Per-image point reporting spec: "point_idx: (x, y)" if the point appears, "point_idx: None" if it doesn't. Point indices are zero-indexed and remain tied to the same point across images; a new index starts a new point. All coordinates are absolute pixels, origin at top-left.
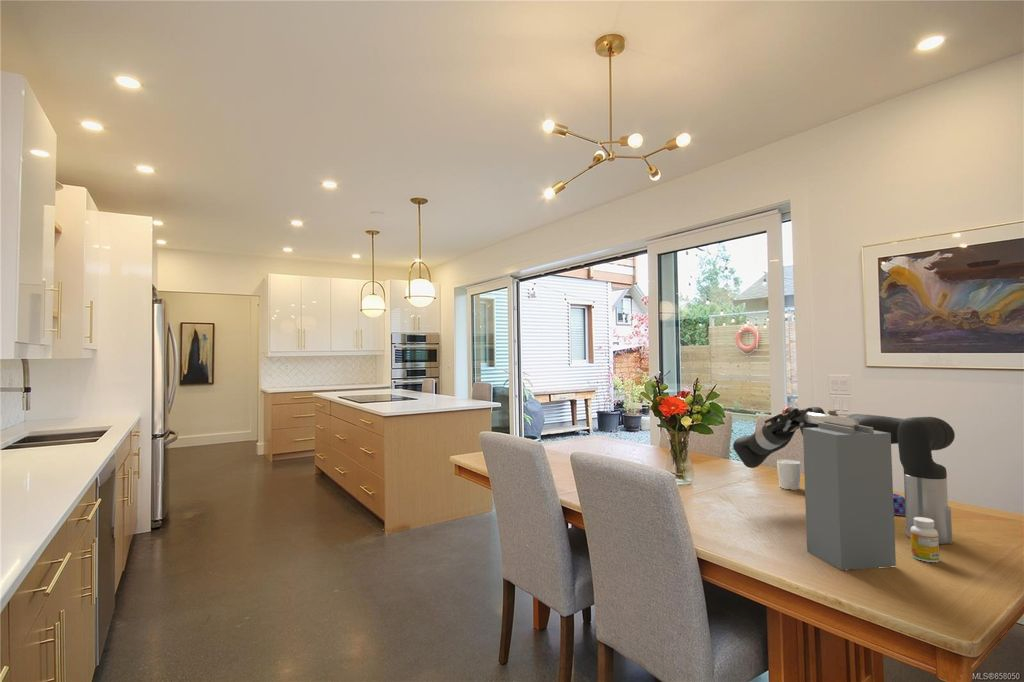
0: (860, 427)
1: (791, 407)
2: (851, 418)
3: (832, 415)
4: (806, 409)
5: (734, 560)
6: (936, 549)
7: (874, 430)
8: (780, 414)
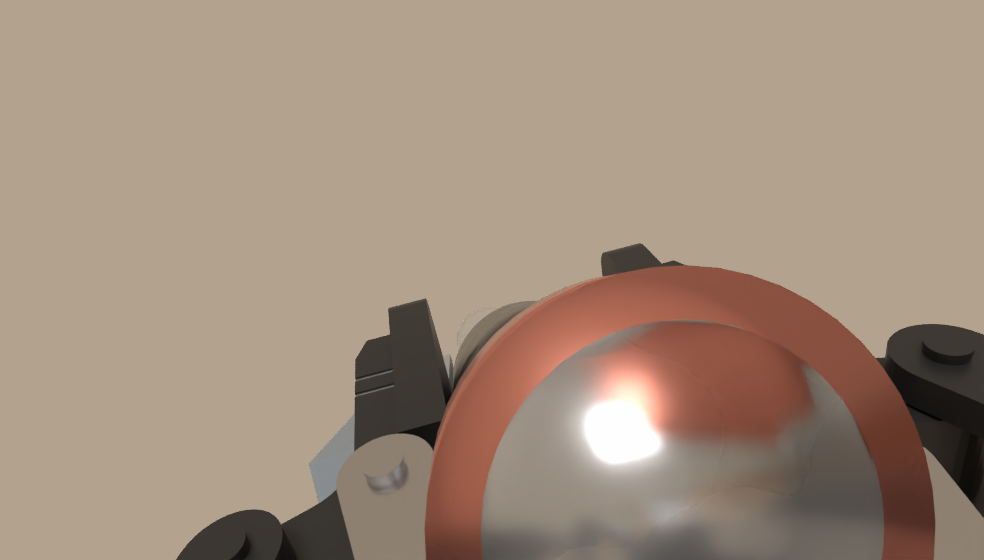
0: (451, 365)
1: (546, 297)
2: (480, 309)
3: (490, 309)
4: (430, 328)
5: None
6: None
7: (351, 420)
8: (922, 330)
